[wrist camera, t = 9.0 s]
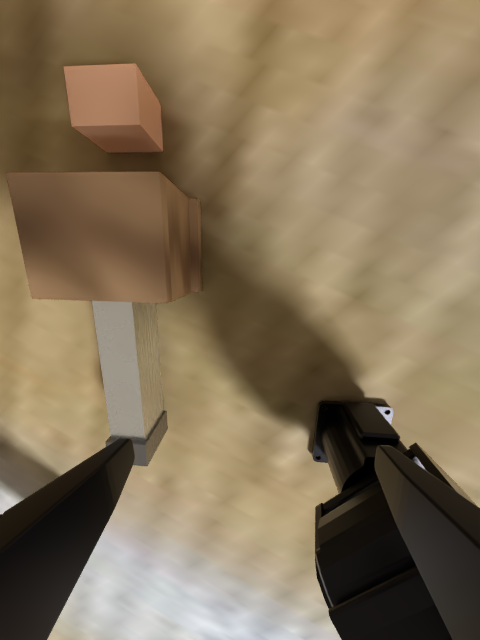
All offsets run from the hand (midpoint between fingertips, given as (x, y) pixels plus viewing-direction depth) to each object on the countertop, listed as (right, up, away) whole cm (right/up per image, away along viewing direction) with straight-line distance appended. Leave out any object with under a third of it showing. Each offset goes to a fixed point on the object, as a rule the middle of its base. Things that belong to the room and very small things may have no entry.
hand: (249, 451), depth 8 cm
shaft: (-9, +3, +12) cm, 15 cm away
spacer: (-8, +17, +7) cm, 21 cm away
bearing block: (-8, +11, +11) cm, 18 cm away
